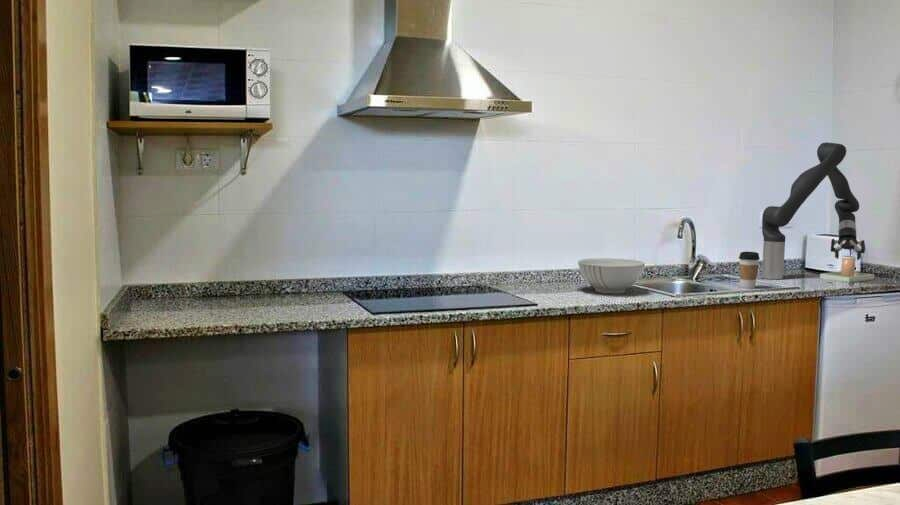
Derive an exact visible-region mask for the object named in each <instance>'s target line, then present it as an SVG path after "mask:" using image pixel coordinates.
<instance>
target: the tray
mask: <svg viewBox="0 0 900 505" xmlns="http://www.w3.org/2000/svg"><path fill="white" fill-rule="evenodd" d="M819 280H823V281H824V280H825V281H831V282H832V281H833V282H837V281H838V283H846V284H852V283H853V284H854V283H861V282H869V281H874V280H875V274H873V273H865V272H858V271H854V277H843V276H841V270H840V271H834V272H833V271H832V272H823V273H820V274H819Z"/></svg>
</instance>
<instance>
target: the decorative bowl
mask: <svg viewBox="0 0 900 505" xmlns="http://www.w3.org/2000/svg"><path fill="white" fill-rule="evenodd" d="M577 264H578V268H579V271H580V272H581V275H582V277H583V278H584V280H585V281H586V282H587V283H588V284H589V285H590V286H591V287H593V288H594V291H596V292H598V293H602V294H623V293H626V291H627V289H629V288H631V287H632V286H633V285H634V284H636V283H637V282H638V280H639V279H640V277H641V275H642V274H643V272H644V269H645V266H646V264H645V262H643V261H641V260H637V259H636V260H635V259H629V258H614V257H613V258H612V257H592V258H591V257H590V258H582V259H579V260H578V261H577Z"/></svg>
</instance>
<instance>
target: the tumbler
mask: <svg viewBox="0 0 900 505" xmlns="http://www.w3.org/2000/svg"><path fill="white" fill-rule="evenodd" d="M856 260H857V256H853V255H842V256H841V267H840V271H841V276H843V277H854V272H856V271H855V268H856Z"/></svg>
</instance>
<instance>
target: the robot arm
mask: <svg viewBox="0 0 900 505" xmlns="http://www.w3.org/2000/svg"><path fill="white" fill-rule="evenodd" d="M816 155H817V159H818V160H819V164H817V165H815V166H812V167H811V168H808V169H807V170H805V171H803V172H802V173H800V175H799V176H798V177H797V178H796V179H795V180H794V181H793V183H792V185H791V187H790V193H789V197H788V198H787V200H786V201H785V202H784V203H782V205H780V206H773V205H770V206H767V207H766V208H765V209H764V210H763V213H762V218H761V221H762V222H761V227H762V228H761V230H762V231H761V233H762V236H763V244H762V245H763V247H762V248H763V249H762V260H761V261H762V264H761V279H766V280H767V279H768V280H782V279H784V271H785V270H784V268H785V267H784V266H785V251H786V250H785V248H786V235H785V234H783V233H782V232H781V231H780V228H783V227H785V226H787V225H788V224H789V223H790V222H791V221H792V218H794V216H795V215H796V213H797V212H798V211H799V209H800V208H801V206H802V205H803V204H804V203H805V201H806V200H807V199H808V198H809V197H810V195H812V194H813V193H814V191H815V190H816V189H817V187H819V185H820V184H821V183H822V181H823V180H824V179H825V178H826V177H828V179H829V181H830V184H831V187H832V190H833V193H834V196H835V198H837V199H838V200H836V202H835V203H834V210H835V212H836V214H837V217H838V230H837V231H838V240H837V239H836V240H835V239H834V238H832V239H831V241H830V242H831V243H830V252H831V253H834V257H835V258H836V260H839V256H840V255H839V254H840V253H839V252H841V251H842V250H848V251H849V250H850V251H851V250H852V251H853V252H856V260H857V261H859V260H860V259H861V257H862V254H865V252H866V244H865V240H864V239H862V240H861V241H860V240H859V241H858V239H857V226H856V225H857V224H856V215H855V214H854V213H856V212H858V211H859V209H860V203H859V200H858V199H857V198H856V196H855V195H854V193H853V192H852V191H851V188H850V184H849V181H848V179H847V177H846V176H845V175H844V173H843V172H842V171H841V170H840V169H839V168H838V166H839V165H840V164H841V162H842V161H843V160H844V159H845V157H846V155H847V148H846V146H845V145H844V144H841V143H835V142H821V143H820V144H819V146H818V148H817V150H816ZM836 245H838V246H836ZM858 245H859V246H860V247H859V246H858ZM835 246H836V247H835Z"/></svg>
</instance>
